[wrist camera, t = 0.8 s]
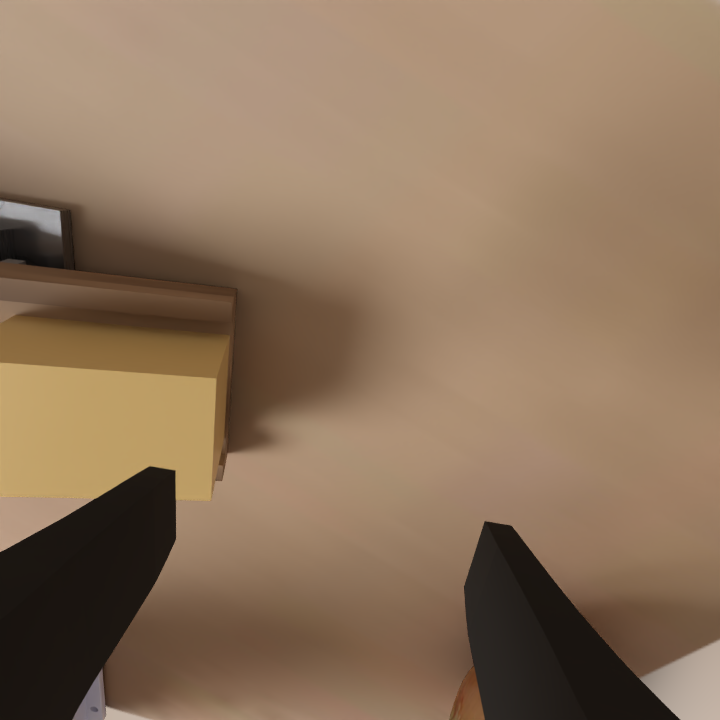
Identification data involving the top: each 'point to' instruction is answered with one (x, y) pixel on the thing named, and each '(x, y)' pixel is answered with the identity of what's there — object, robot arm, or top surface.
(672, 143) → the top surface
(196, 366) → the block
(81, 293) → the beam
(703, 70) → the top surface
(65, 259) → the pivot stand
